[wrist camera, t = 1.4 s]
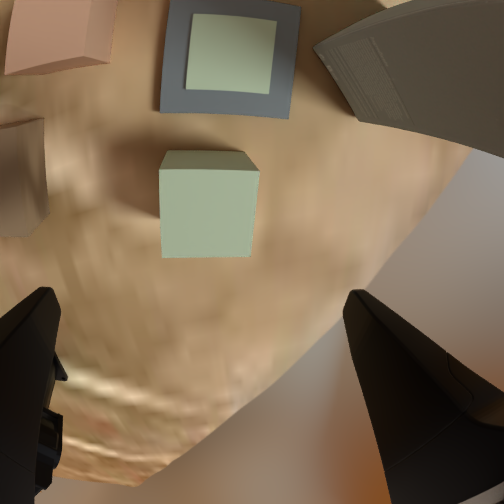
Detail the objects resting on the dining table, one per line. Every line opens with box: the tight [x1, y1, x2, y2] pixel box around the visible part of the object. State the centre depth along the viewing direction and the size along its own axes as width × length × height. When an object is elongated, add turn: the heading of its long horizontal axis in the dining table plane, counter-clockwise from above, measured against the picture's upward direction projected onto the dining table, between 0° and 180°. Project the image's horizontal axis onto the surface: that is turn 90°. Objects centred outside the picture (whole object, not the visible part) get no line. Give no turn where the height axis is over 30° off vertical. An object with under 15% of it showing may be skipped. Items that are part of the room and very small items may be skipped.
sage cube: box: [159, 150, 260, 258], centre depth 18 cm, size 5×5×5 cm
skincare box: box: [313, 0, 504, 158], centre depth 10 cm, size 8×7×16 cm
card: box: [160, 0, 301, 119], centre depth 15 cm, size 8×8×1 cm
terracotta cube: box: [4, 0, 118, 75], centre depth 10 cm, size 5×5×5 cm
